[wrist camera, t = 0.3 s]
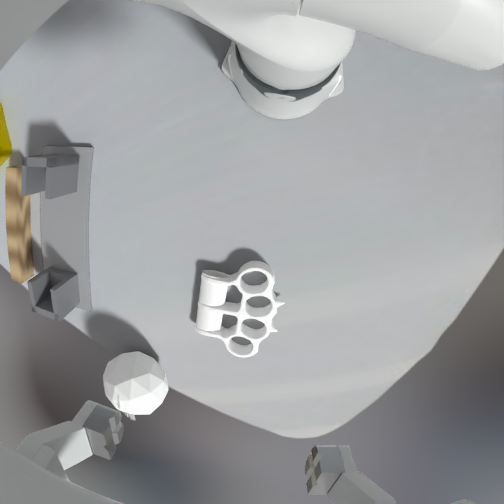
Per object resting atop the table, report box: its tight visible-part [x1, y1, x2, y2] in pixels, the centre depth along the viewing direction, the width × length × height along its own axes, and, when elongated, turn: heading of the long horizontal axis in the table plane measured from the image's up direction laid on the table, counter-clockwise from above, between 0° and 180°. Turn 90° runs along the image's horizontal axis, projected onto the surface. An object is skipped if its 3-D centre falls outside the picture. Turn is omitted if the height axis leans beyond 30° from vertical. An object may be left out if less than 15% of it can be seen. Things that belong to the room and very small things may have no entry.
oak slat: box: [6, 165, 34, 283], centre depth 47 cm, size 24×4×5 cm, turn 169°
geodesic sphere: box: [103, 351, 168, 420], centre depth 52 cm, size 14×14×14 cm
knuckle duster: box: [195, 261, 286, 357], centre depth 51 cm, size 3×18×15 cm
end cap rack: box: [21, 146, 94, 322], centre depth 45 cm, size 32×12×9 cm, turn 170°
